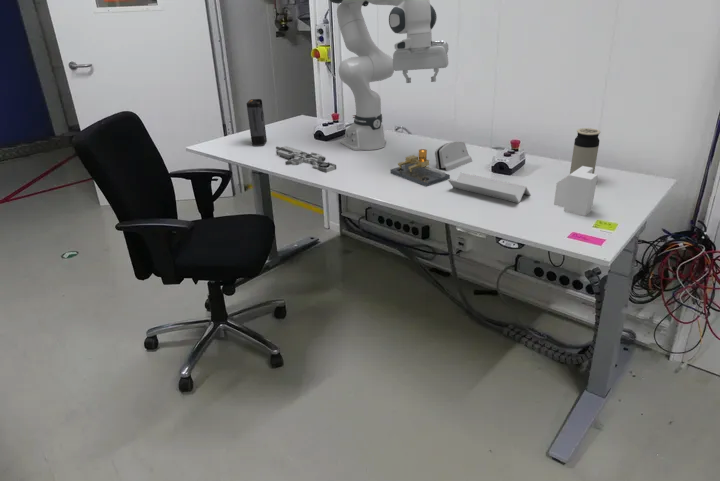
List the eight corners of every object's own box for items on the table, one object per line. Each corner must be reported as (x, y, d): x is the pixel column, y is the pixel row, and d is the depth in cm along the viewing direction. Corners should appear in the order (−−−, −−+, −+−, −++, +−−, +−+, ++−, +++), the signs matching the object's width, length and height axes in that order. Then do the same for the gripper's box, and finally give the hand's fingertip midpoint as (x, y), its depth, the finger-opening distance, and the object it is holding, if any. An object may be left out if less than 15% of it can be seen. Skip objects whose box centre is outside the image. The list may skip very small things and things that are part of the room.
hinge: (446, 171, 202) (440, 146, 200) (437, 172, 206) (431, 148, 204) (473, 161, 212) (467, 137, 210) (463, 162, 216) (458, 139, 214)
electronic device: (264, 146, 244) (258, 102, 235) (251, 146, 244) (245, 103, 235) (267, 140, 252) (262, 98, 243) (255, 141, 252) (249, 99, 243)
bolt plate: (390, 173, 203) (390, 160, 201) (413, 166, 209) (413, 153, 207) (426, 186, 189) (426, 172, 186) (449, 178, 195) (450, 165, 193)
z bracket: (459, 195, 192) (466, 180, 193) (523, 211, 177) (530, 194, 178) (447, 179, 182) (454, 164, 183) (514, 195, 167) (521, 178, 168)
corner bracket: (584, 216, 161) (591, 179, 155) (549, 207, 168) (554, 172, 162) (597, 205, 168) (604, 169, 162) (563, 197, 175) (568, 163, 169)
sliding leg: (407, 172, 198) (407, 153, 195) (423, 167, 202) (423, 148, 199) (412, 174, 196) (412, 154, 192) (429, 169, 200) (429, 150, 197)
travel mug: (594, 184, 184) (603, 133, 176) (571, 183, 186) (578, 133, 177) (590, 176, 191) (598, 127, 183) (567, 176, 193) (574, 127, 184)
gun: (257, 151, 230) (284, 142, 239) (258, 157, 231) (285, 148, 240) (317, 171, 203) (345, 160, 212) (318, 177, 204) (346, 166, 213)
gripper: (449, 39, 187) (450, 79, 192) (395, 44, 194) (397, 82, 199) (446, 40, 181) (447, 81, 186) (390, 45, 189) (392, 84, 194)
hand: (421, 82), depth 193 cm, fingers open, 8 cm apart
